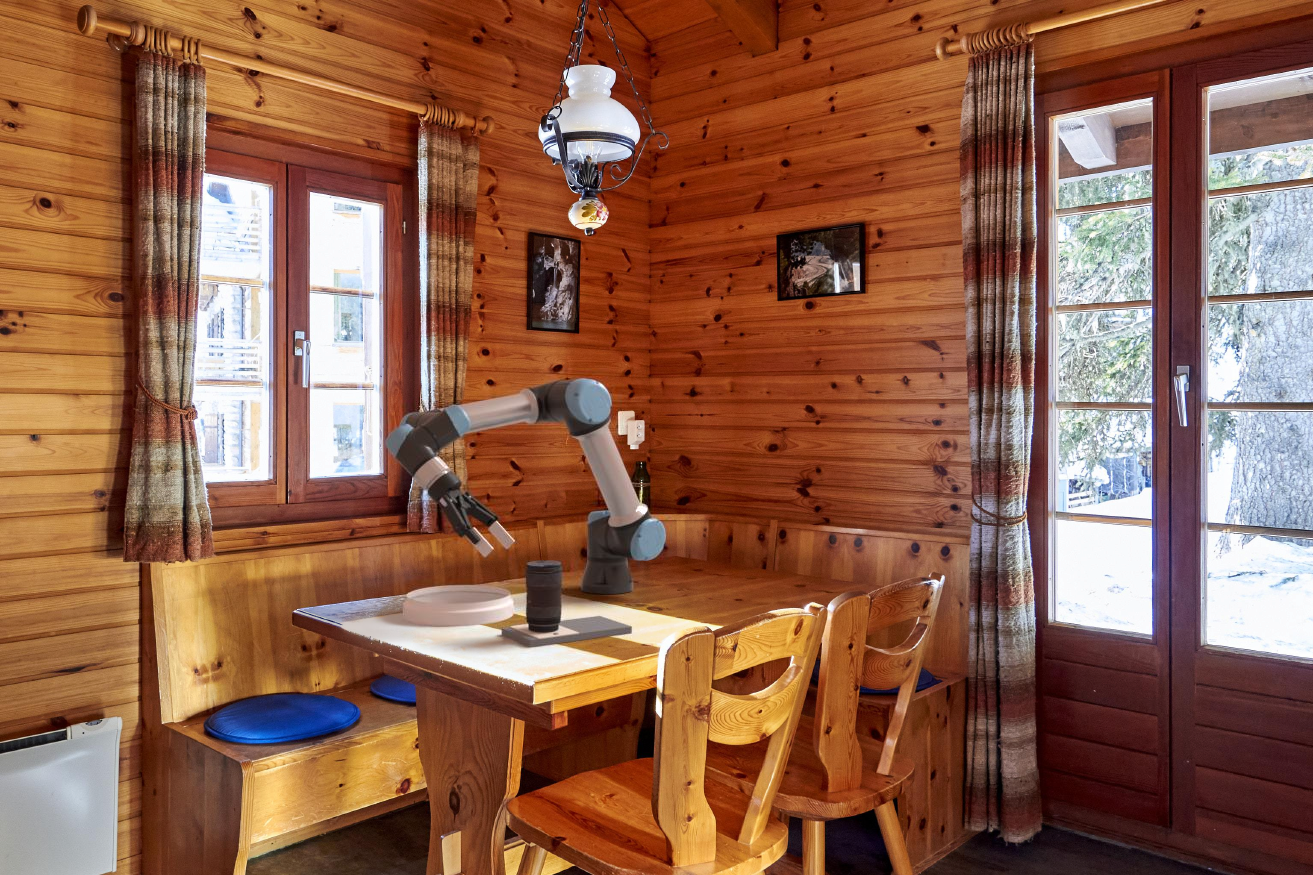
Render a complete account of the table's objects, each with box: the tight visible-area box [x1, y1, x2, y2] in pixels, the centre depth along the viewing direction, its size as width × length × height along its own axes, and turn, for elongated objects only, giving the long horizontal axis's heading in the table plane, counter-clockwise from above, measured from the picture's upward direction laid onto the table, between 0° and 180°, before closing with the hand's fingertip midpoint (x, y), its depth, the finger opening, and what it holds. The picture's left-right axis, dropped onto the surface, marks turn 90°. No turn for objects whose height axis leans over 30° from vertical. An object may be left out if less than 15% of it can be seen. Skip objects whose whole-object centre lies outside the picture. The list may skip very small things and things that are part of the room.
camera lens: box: [525, 560, 563, 632], centre depth 208 cm, size 8×8×15 cm
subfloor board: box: [501, 615, 633, 648], centre depth 212 cm, size 26×14×2 cm, turn 125°
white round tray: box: [402, 584, 515, 627], centre depth 232 cm, size 27×27×6 cm
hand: (500, 549), depth 211 cm, fingers open, 13 cm apart
